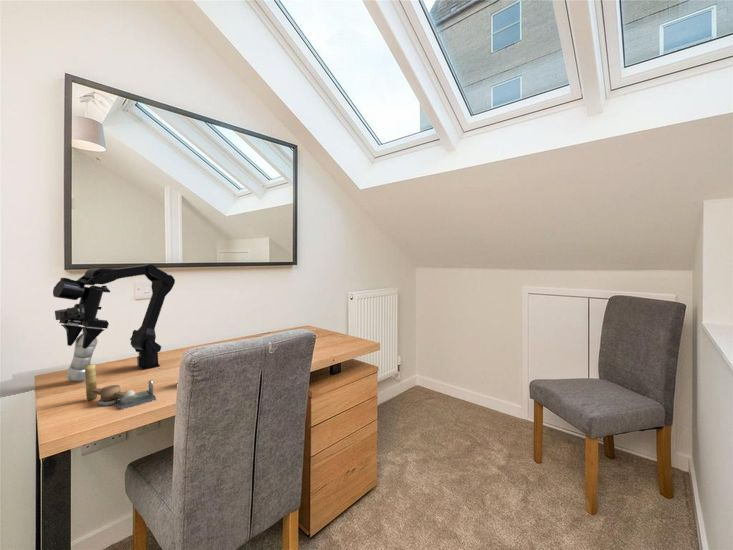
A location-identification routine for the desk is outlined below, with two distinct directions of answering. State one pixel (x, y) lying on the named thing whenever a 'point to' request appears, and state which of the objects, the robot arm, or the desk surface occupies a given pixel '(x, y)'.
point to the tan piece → (105, 392)
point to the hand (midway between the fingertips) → (76, 346)
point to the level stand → (138, 399)
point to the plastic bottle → (80, 359)
